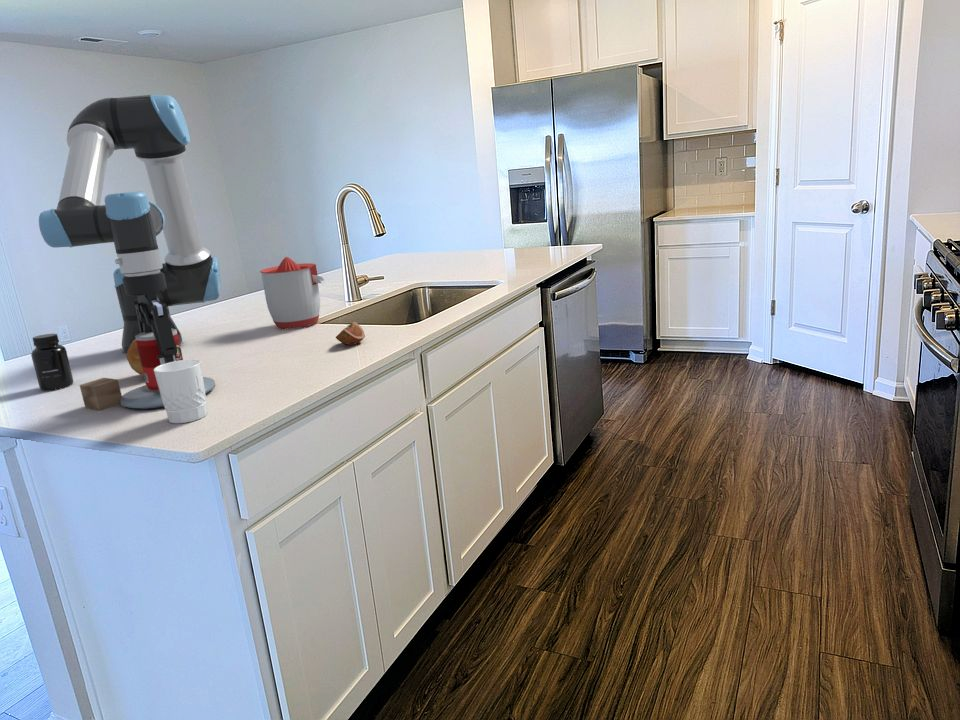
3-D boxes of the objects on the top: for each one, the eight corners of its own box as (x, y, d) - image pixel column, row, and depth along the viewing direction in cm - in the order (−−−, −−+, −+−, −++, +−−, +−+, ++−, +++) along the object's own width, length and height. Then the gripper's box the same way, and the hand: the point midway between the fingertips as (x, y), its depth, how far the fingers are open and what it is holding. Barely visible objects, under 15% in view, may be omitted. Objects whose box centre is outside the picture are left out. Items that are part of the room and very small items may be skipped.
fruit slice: (357, 348, 167) (354, 328, 166) (331, 349, 169) (328, 329, 168) (369, 339, 175) (366, 320, 174) (344, 340, 177) (342, 321, 175)
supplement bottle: (49, 392, 153) (35, 340, 150) (34, 390, 157) (20, 338, 153) (80, 383, 158) (67, 332, 155) (64, 381, 162) (51, 331, 159)
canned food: (173, 390, 137) (161, 336, 134) (138, 391, 139) (125, 338, 136) (195, 378, 144) (185, 327, 141) (162, 379, 146) (150, 328, 143)
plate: (111, 399, 143) (110, 393, 143) (199, 377, 154) (197, 371, 154) (135, 417, 130) (133, 411, 129) (228, 392, 141) (227, 386, 140)
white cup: (174, 412, 131) (162, 362, 128) (216, 407, 131) (205, 357, 128) (159, 427, 123) (146, 373, 120) (203, 422, 124) (192, 368, 121)
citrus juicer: (323, 328, 193) (312, 257, 188) (262, 333, 194) (250, 262, 189) (335, 316, 208) (325, 250, 203) (279, 321, 209) (267, 255, 204)
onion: (132, 374, 162) (123, 333, 159) (178, 366, 166) (169, 326, 163) (130, 384, 153) (120, 341, 151) (178, 376, 157) (169, 333, 154)
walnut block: (85, 408, 139) (79, 385, 138) (108, 400, 143) (103, 377, 142) (100, 411, 136) (94, 387, 135) (123, 402, 141) (117, 379, 139)
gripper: (108, 273, 141) (133, 379, 147) (136, 279, 125) (163, 398, 131) (147, 267, 145) (170, 370, 151) (179, 272, 130) (203, 387, 136)
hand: (167, 383), depth 141 cm, fingers open, 8 cm apart
